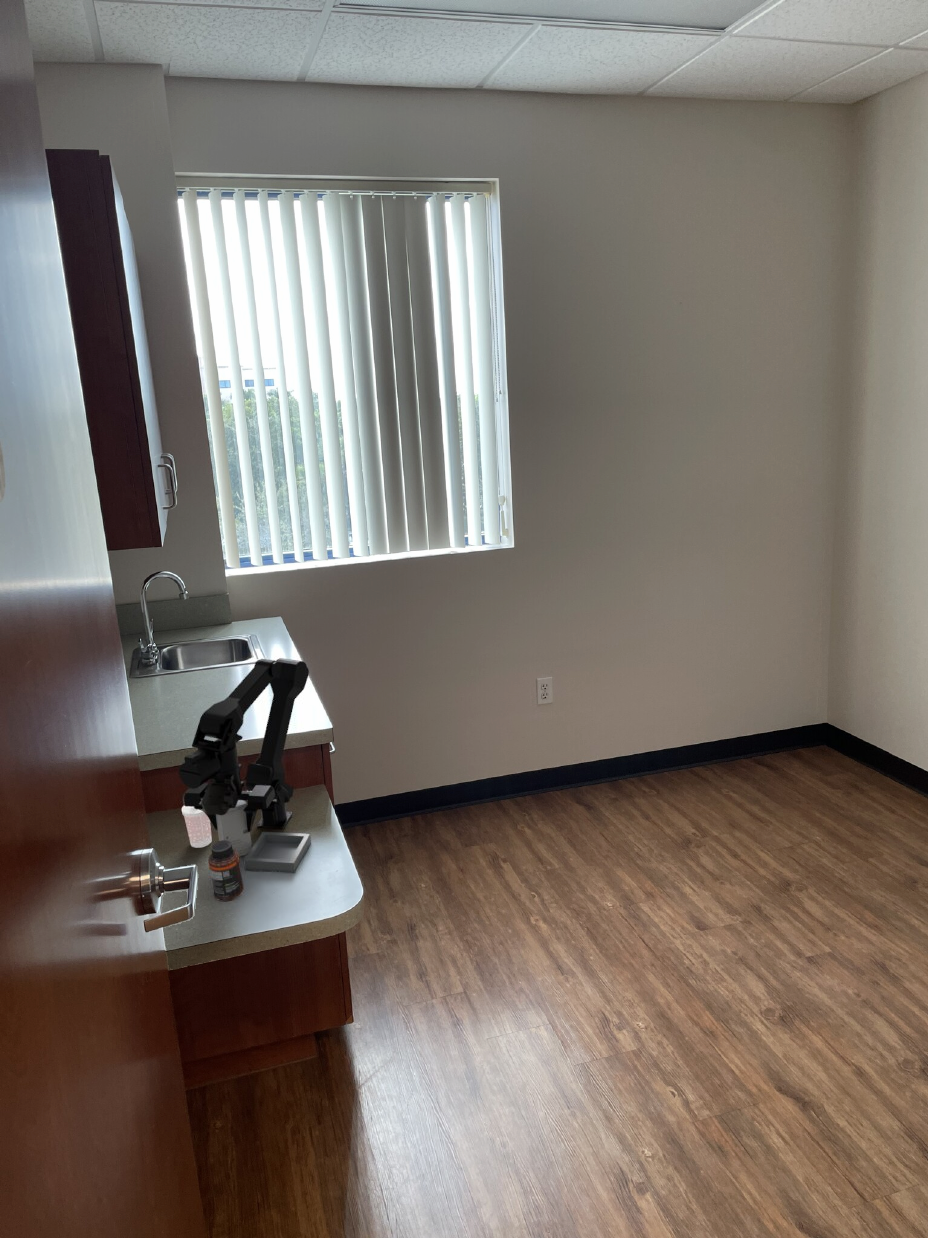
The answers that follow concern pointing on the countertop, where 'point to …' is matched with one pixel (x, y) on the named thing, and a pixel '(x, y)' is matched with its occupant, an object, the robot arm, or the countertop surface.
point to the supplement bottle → (225, 871)
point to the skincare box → (235, 828)
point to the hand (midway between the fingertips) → (233, 830)
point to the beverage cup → (197, 826)
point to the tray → (277, 852)
